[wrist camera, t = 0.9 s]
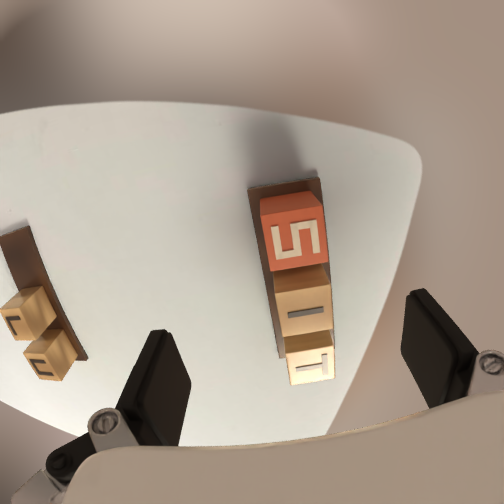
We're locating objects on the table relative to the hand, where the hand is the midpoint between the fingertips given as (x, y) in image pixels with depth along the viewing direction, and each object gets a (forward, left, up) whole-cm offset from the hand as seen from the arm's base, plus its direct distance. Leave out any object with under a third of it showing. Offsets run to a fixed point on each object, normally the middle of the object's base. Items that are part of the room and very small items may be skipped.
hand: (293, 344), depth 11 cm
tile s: (+1, +1, -16) cm, 16 cm away
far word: (-13, -26, -16) cm, 33 cm away
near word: (+6, -2, -16) cm, 17 cm away
